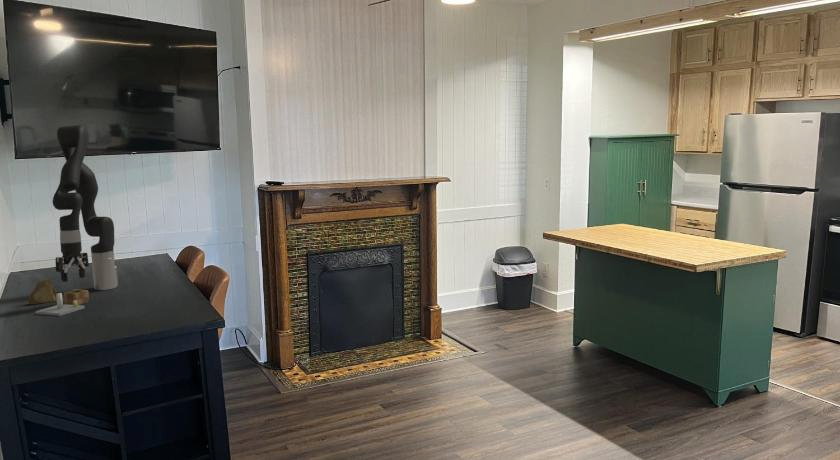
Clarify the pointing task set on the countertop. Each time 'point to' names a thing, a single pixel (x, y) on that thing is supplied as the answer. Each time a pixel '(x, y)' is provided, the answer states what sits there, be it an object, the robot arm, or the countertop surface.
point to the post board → (59, 311)
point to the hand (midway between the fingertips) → (73, 279)
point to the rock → (43, 293)
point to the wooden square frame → (76, 297)
